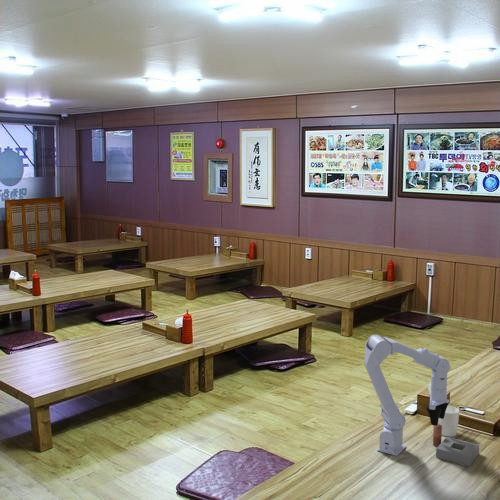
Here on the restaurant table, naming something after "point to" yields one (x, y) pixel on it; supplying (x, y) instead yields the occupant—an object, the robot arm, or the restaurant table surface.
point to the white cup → (450, 421)
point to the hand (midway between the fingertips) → (437, 421)
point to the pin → (437, 435)
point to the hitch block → (457, 451)
